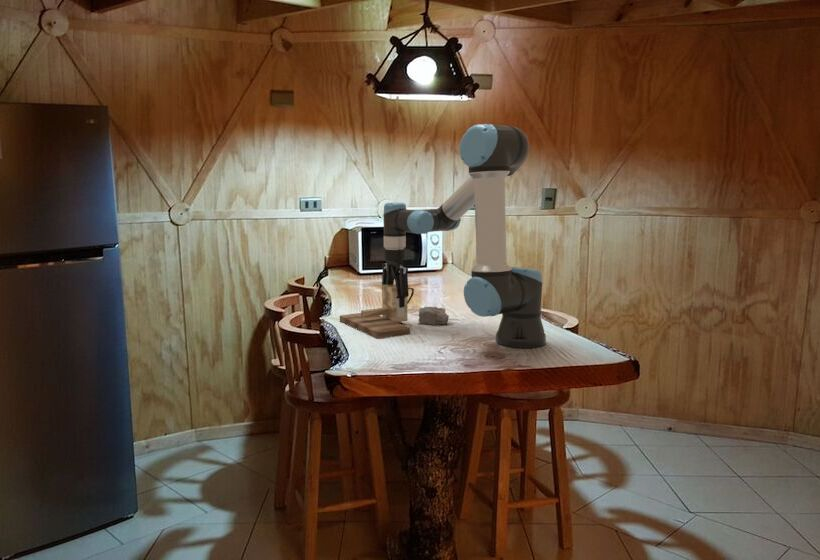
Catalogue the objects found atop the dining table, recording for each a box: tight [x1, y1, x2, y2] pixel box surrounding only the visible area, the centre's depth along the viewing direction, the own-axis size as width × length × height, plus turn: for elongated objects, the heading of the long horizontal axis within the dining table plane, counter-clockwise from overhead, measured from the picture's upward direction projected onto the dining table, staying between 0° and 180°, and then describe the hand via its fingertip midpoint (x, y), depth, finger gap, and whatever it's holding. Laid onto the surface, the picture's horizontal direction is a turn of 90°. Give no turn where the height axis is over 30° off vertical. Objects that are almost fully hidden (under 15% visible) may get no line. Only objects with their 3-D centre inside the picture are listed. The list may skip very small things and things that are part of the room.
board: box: [339, 312, 411, 339], centre depth 210 cm, size 28×12×2 cm, turn 31°
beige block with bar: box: [360, 283, 409, 323], centre depth 213 cm, size 7×16×12 cm, turn 121°
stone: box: [418, 306, 450, 326], centre depth 216 cm, size 10×8×6 cm
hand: (394, 314), depth 216 cm, fingers closed on beige block with bar, 7 cm apart
